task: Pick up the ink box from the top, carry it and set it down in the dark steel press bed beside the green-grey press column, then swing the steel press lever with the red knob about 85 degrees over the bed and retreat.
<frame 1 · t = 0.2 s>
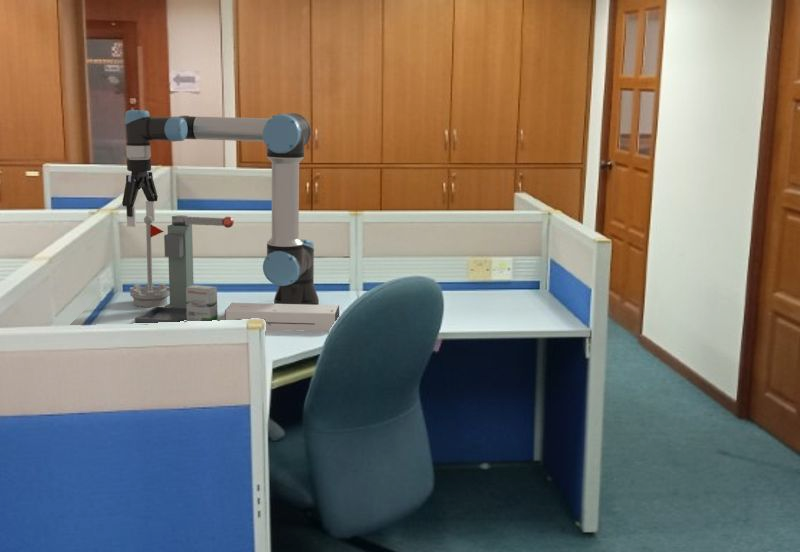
hand: (141, 223, 303), 28 cm above the table, tool pointing down, fingers open, 13 cm apart
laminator: (283, 327, 289), on the table
ink box: (202, 324, 289), on the table
press lever: (202, 221, 301), point 30 cm above the table, hinge at 0.0°
flag stand: (150, 303, 314), on the table, touching gripper
press column: (182, 308, 308), on the table
press bed: (166, 318, 293), on the table
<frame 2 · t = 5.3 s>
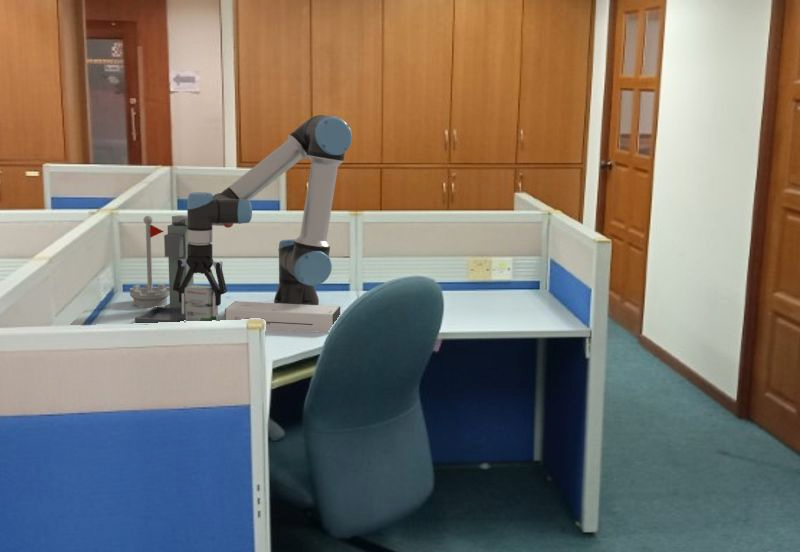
hand: (199, 314, 288), 3 cm above the table, tool pointing down, fingers closed on ink box, 9 cm apart
ink box: (201, 324, 289), on the table, touching gripper
press lever: (202, 221, 301), point 30 cm above the table, hinge at 0.0°, touching arm
flag stand: (150, 303, 314), on the table
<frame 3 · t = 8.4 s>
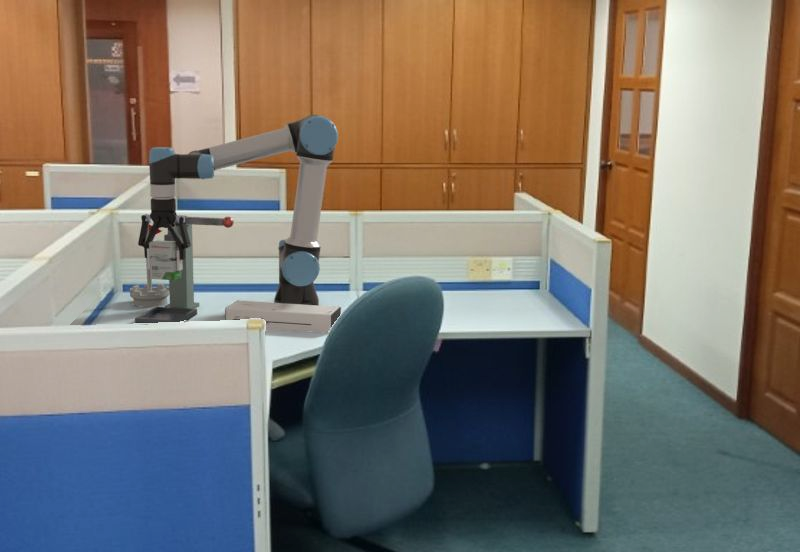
hand: (165, 269, 290), 16 cm above the table, tool pointing down, fingers closed on ink box, 9 cm apart
ink box: (166, 279, 291), point 13 cm above the table, touching gripper
press lever: (202, 221, 301), point 30 cm above the table, hinge at 0.0°
when the fingers open (4 cm above the table, at t = 11.0 s): ink box stays where it is, resting on press bed.
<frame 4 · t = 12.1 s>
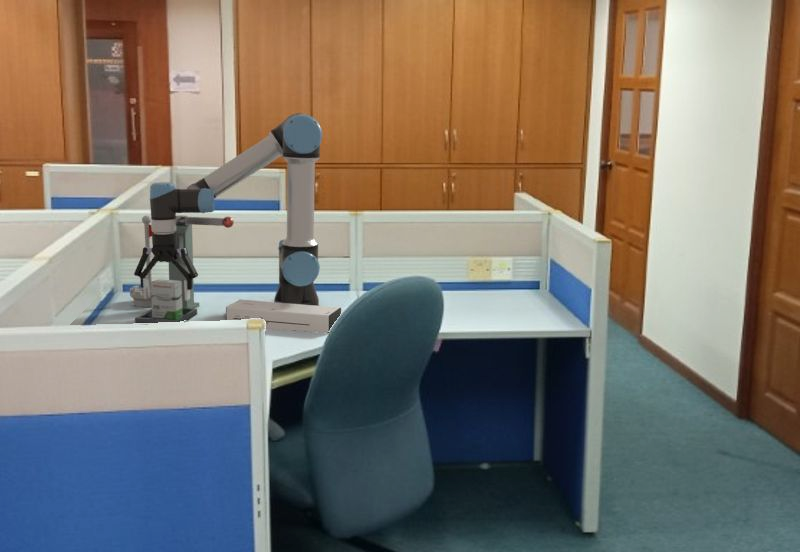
hand: (167, 298, 292), 7 cm above the table, tool pointing down, fingers open, 13 cm apart
ink box: (167, 317, 294), resting on press bed
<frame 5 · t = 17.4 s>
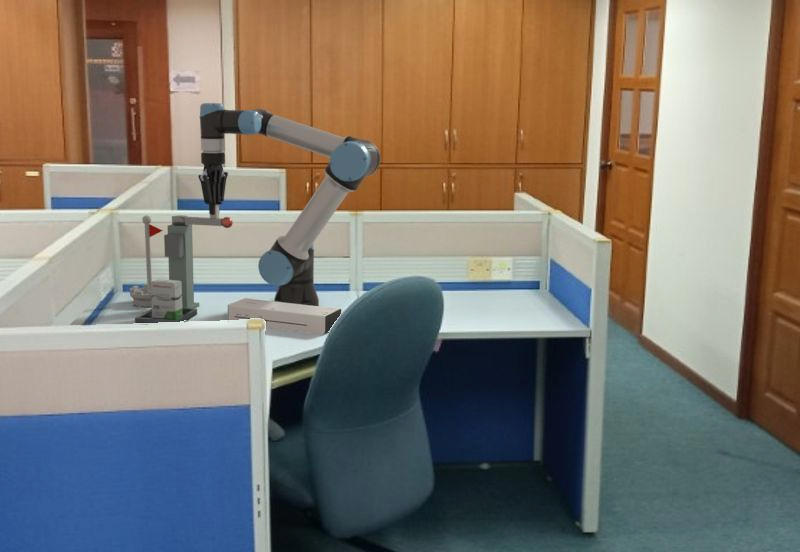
hand: (214, 224, 302), 29 cm above the table, tool pointing down, fingers closed
press lever: (202, 221, 301), point 30 cm above the table, hinge at 3.0°, touching gripper
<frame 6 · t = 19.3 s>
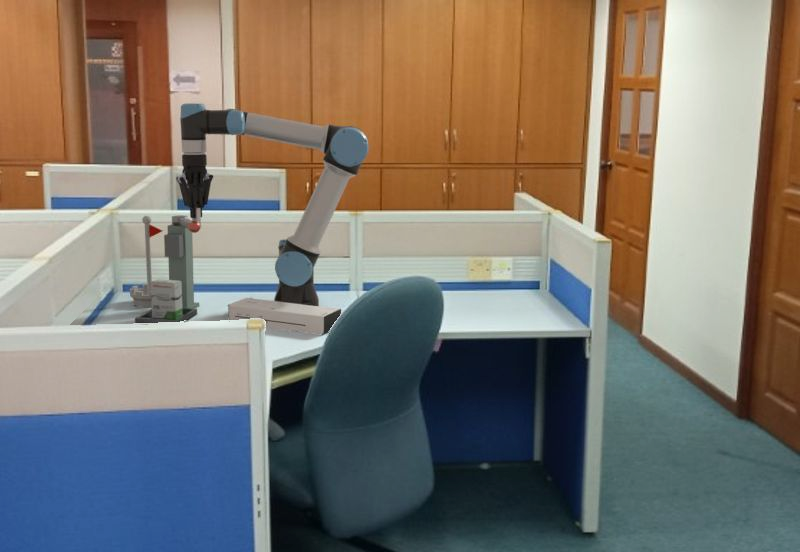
hand: (196, 228, 294), 28 cm above the table, tool pointing down, fingers closed
press lever: (186, 223, 295), point 30 cm above the table, hinge at 52.1°, touching gripper
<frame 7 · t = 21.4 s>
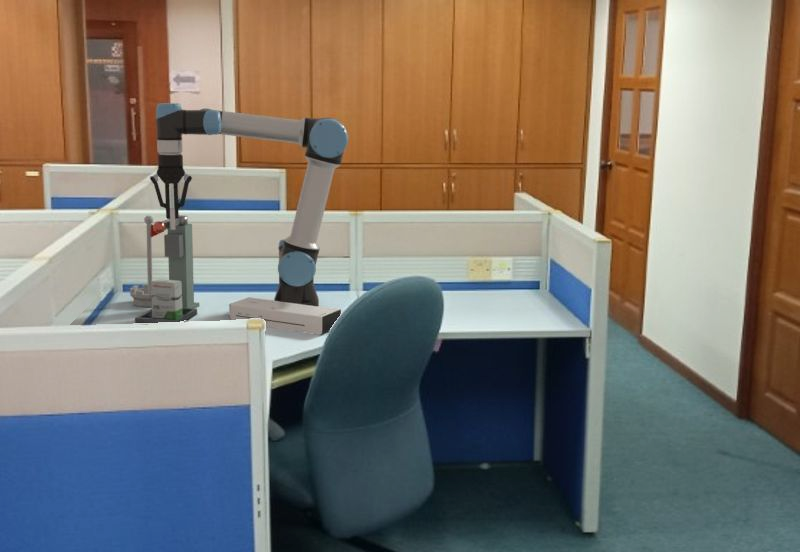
hand: (172, 229, 291), 28 cm above the table, tool pointing down, fingers closed
press lever: (170, 223, 295), point 30 cm above the table, hinge at 89.9°
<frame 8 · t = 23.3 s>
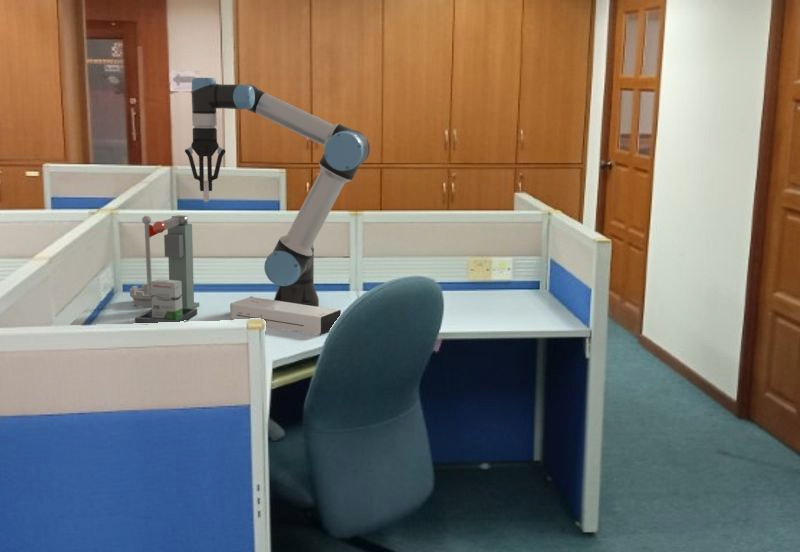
hand: (206, 201, 297), 36 cm above the table, tool pointing down, fingers closed
at the end: ink box inside the target area on the press bed (0.4 cm from its centre), point 0.3 cm above the press bed's base; ink box tilted 0°; press lever at +90° (first picture: +0°) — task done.
